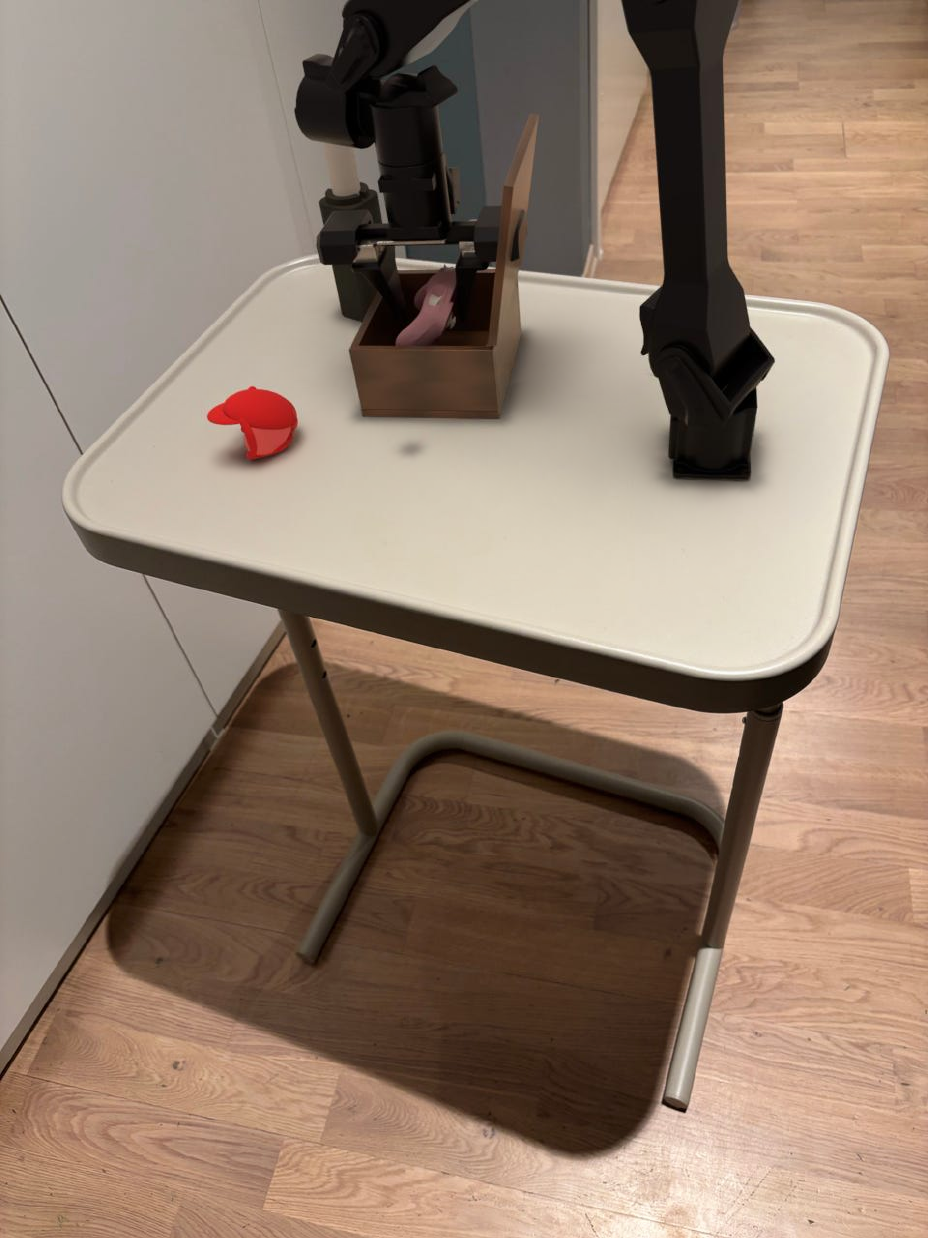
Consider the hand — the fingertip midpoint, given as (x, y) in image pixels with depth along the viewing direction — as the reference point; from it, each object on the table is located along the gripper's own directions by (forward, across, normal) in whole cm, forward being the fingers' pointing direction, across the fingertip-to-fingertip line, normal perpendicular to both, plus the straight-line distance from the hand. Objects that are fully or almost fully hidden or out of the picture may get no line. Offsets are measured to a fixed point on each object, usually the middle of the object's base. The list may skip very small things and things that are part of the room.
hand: (433, 320), depth 92 cm
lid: (-9, -8, 0) cm, 12 cm away
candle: (+6, +11, -13) cm, 18 cm away
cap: (+6, +15, +13) cm, 21 cm away
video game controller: (+1, 0, 0) cm, 1 cm away
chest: (+6, 0, 0) cm, 6 cm away
